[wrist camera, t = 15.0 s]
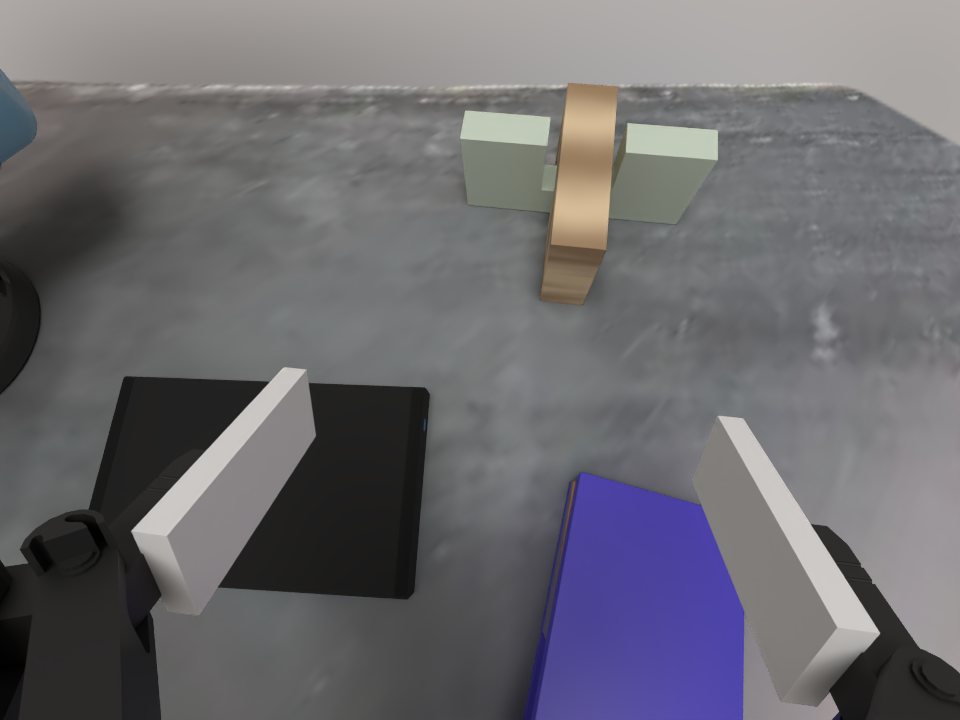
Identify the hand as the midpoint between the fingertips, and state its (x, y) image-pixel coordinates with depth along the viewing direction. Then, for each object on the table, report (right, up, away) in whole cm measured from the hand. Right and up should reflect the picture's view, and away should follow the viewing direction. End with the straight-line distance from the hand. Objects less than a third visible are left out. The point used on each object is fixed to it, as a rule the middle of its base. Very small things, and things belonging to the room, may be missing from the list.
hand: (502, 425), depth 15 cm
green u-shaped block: (+7, +16, +26) cm, 31 cm away
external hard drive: (-17, -7, +21) cm, 27 cm away
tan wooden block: (+7, +13, +25) cm, 29 cm away
